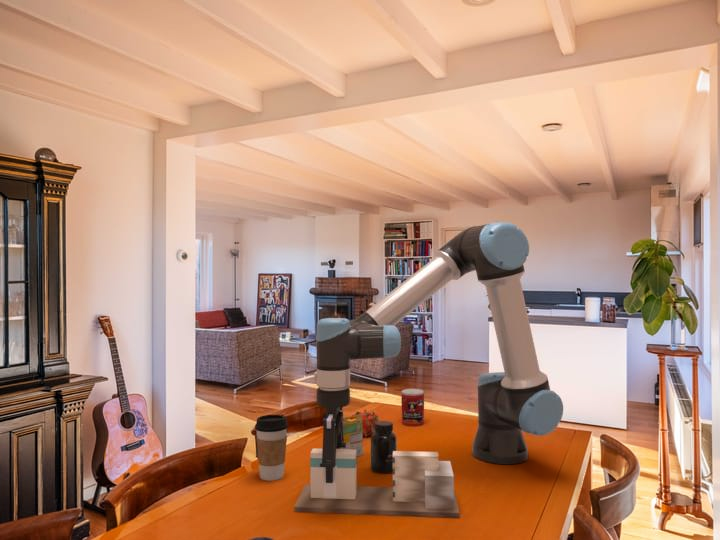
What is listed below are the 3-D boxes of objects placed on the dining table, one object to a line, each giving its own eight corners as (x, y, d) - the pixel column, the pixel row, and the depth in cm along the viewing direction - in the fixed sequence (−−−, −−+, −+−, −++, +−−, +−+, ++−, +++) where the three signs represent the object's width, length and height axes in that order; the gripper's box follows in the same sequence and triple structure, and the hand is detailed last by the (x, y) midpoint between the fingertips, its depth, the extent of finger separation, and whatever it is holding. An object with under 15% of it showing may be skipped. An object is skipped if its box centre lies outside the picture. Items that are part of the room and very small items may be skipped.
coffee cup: (260, 485, 125) (260, 423, 125) (250, 473, 132) (250, 414, 132) (293, 478, 129) (293, 418, 129) (282, 467, 136) (282, 410, 136)
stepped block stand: (454, 493, 119) (453, 445, 119) (459, 517, 107) (459, 464, 107) (305, 488, 122) (305, 442, 123) (294, 511, 111) (293, 460, 111)
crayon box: (357, 452, 148) (357, 411, 148) (363, 455, 145) (363, 413, 146) (335, 457, 144) (335, 415, 144) (341, 460, 141) (341, 418, 142)
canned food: (400, 426, 174) (400, 393, 174) (402, 419, 181) (402, 388, 182) (423, 427, 172) (423, 394, 172) (424, 420, 180) (424, 388, 180)
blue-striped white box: (356, 493, 117) (356, 449, 117) (355, 499, 114) (355, 454, 114) (312, 492, 118) (312, 448, 118) (310, 498, 115) (310, 452, 115)
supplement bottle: (395, 475, 131) (394, 427, 131) (368, 473, 132) (368, 426, 132) (398, 465, 137) (398, 420, 138) (373, 463, 139) (372, 418, 139)
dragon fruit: (382, 437, 166) (349, 449, 160) (369, 417, 172) (337, 428, 166) (387, 420, 161) (355, 432, 155) (374, 400, 167) (342, 410, 161)
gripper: (324, 377, 128) (325, 467, 128) (306, 398, 105) (307, 508, 105) (354, 377, 127) (355, 467, 127) (343, 399, 104) (344, 509, 104)
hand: (333, 486), depth 116 cm, fingers open, 10 cm apart
